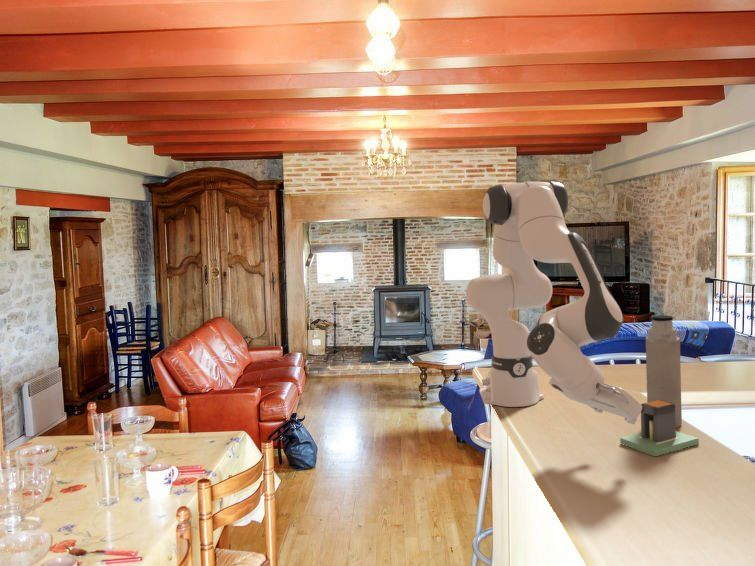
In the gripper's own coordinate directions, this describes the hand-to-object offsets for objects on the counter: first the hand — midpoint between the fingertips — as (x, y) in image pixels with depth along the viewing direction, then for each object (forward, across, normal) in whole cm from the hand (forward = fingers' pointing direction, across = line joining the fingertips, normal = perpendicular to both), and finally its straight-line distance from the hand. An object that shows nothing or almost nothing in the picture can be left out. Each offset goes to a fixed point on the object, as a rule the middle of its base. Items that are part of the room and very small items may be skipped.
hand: (616, 415), depth 137 cm
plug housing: (+14, -1, -3) cm, 14 cm away
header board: (+15, -1, -2) cm, 15 cm away
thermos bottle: (+25, +9, -11) cm, 29 cm away
